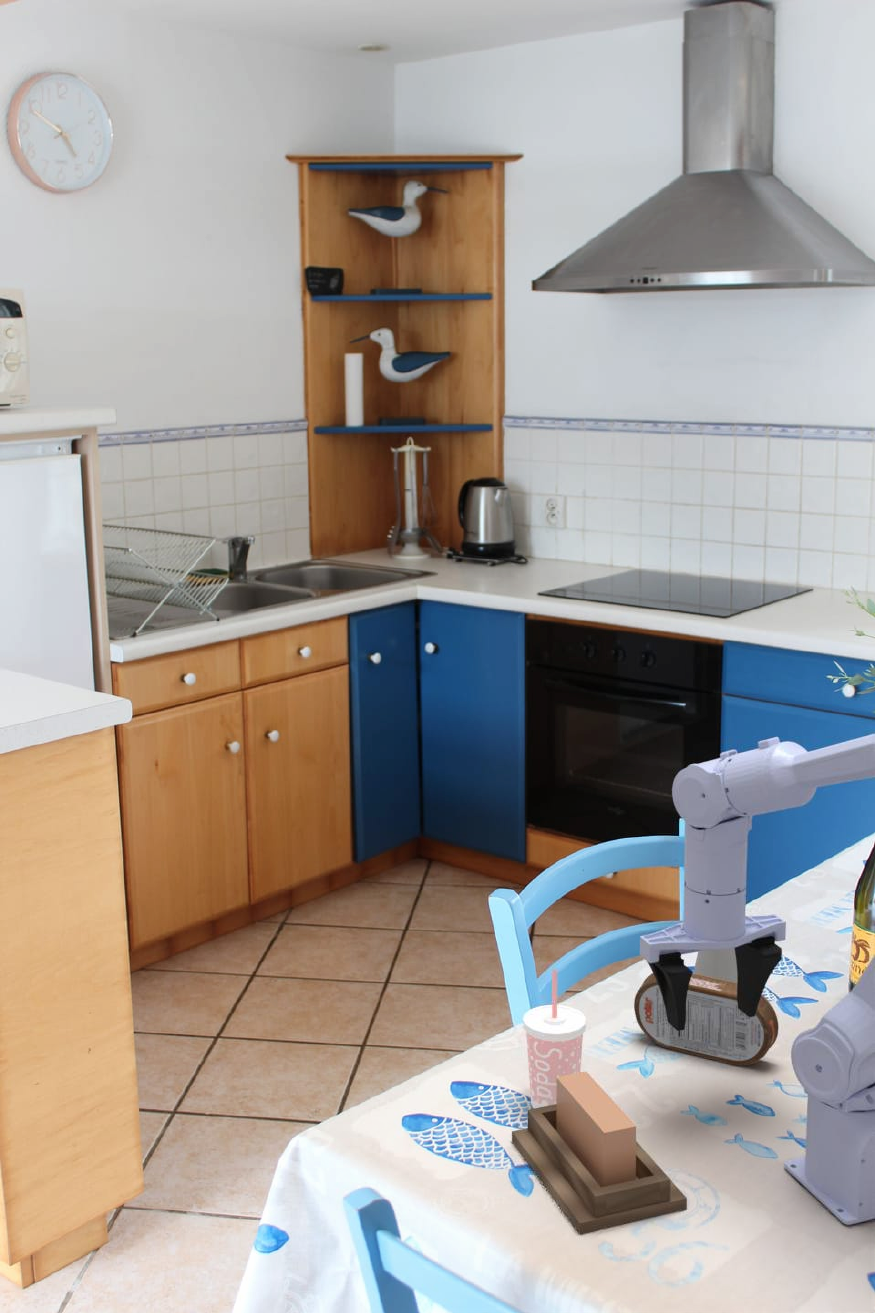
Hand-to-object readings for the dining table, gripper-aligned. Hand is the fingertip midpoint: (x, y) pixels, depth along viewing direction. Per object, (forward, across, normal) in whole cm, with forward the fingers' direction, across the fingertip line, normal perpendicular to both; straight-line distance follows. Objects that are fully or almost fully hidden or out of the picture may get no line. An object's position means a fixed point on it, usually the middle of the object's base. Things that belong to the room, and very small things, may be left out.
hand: (711, 1019), depth 130 cm
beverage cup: (+10, +14, -6) cm, 18 cm away
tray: (+9, +15, +6) cm, 19 cm away
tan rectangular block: (+8, +15, +6) cm, 18 cm away
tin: (+10, -5, -10) cm, 15 cm away
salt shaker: (+10, -14, -22) cm, 28 cm away
